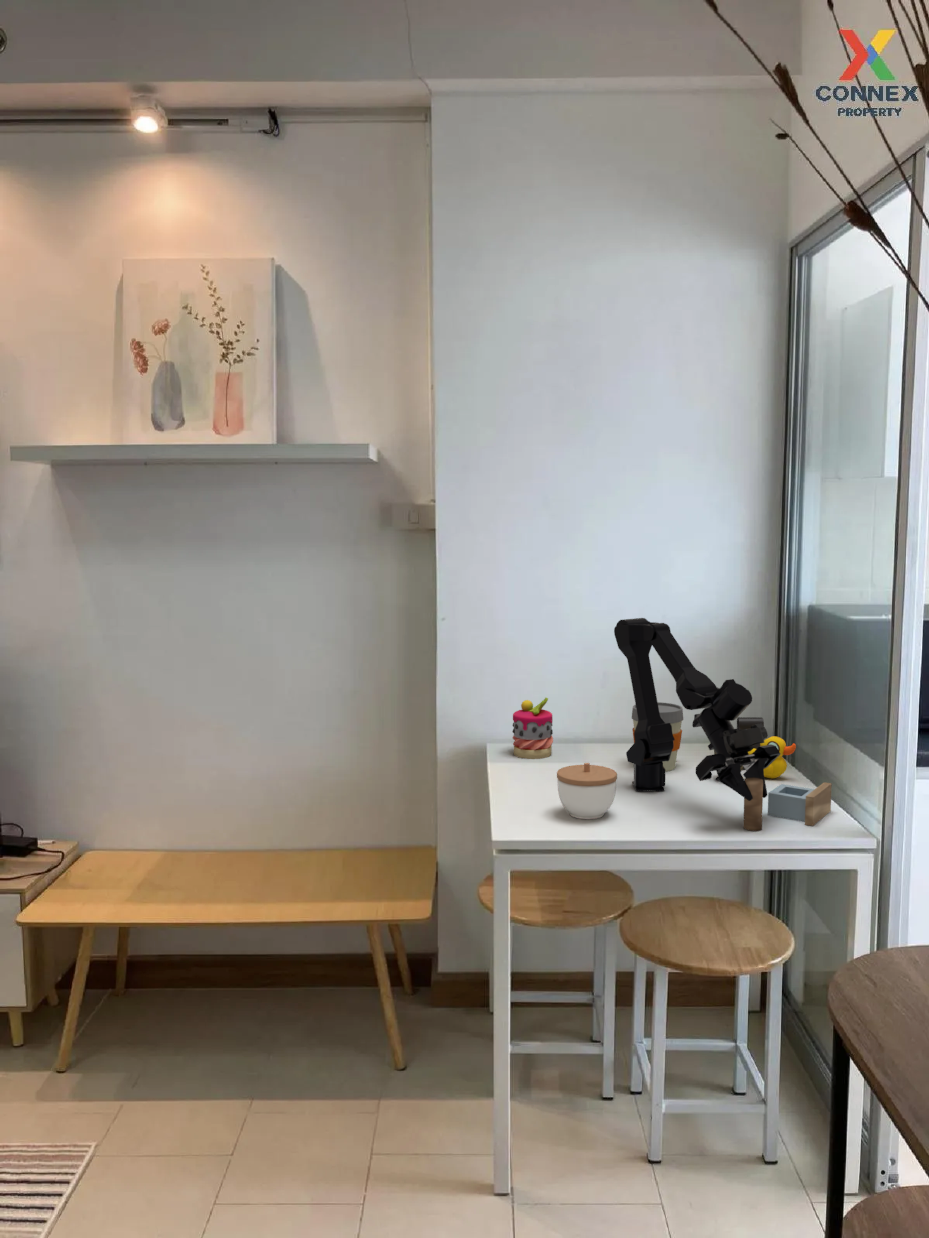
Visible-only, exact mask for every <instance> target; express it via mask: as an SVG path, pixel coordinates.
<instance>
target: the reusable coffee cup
mask: <svg viewBox="0 0 929 1238" xmlns="http://www.w3.org/2000/svg"><path fill="white" fill-rule="evenodd" d="M657 702H658V707H659V713H660V717H661V718H662V719H663V721H664V722H665V723H670V724H671V726H672V734H673V737H674V739H675V740H674V741H673V742H674V748H673V749H672V752H671V756H670V759H669V761H664V762H663V767H664V768H665V772H670V771H674V770H675V769H676V765H677V764H676V762H677V757H678V751H679V750H680V748H681V742H682V735H683V730H682V725H683V724H682V722H683V721H684V709H683V706H681V705H679V704H675V703H672V702H671V703H670V702H659V701H657ZM631 719H632V723H633V727H632V737H633V744H634V743H635V740H634V732H635V729H636V726H637V723H638V715H637V709H636V704H634V705H633V706H632V712H631Z"/></svg>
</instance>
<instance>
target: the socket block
mask: <svg viewBox="0 0 929 1238" xmlns="http://www.w3.org/2000/svg"><path fill="white" fill-rule="evenodd" d="M815 789H816V788H811V787H810V788H809V787H805V786H804V787H803V786H797V785H791V784H784V783H781V784H779V785H778V786H777V787H775V788H774V789H772V790H769V792H767V816H771V817H776V818H780V819H781V818H782V819H788V820H792V821H797V822H798V821H799V822H804V823H805V805H806V796H807V795H808V794H809V793H811V792H812V791H813V790H815Z"/></svg>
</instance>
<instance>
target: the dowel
mask: <svg viewBox="0 0 929 1238" xmlns="http://www.w3.org/2000/svg"><path fill="white" fill-rule="evenodd" d="M744 780H745V782H746V784H747V786H748V788H749V790H750V792H751V794H752V797H753V799H752V800H751V801H748V800H747V799H745V798H744V797H743V830H746V831H748V832H749V831H751V832H759V831H762V830H763V804H764V803H763V801H764V800H763V799H764V798H763V780H762V779H760V778H745V777H744Z"/></svg>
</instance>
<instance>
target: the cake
mask: <svg viewBox="0 0 929 1238" xmlns="http://www.w3.org/2000/svg"><path fill="white" fill-rule="evenodd" d="M548 701H549V698H548V697H544V699H543V700H541V701H540V702H539V703H537V705H535V706H534V704H533V702H532V701H531V700H529V699H525V700H523V701H522V702H521V704H520V708H521V709H519V710H516V711H514V712H513V713H512V721H513V723H512V727H513V729H512V733H513V735H512V740H514V741H513V743H512V745H513V755H514V756H515V757H517V758H519V759H526V760H541V759H546V758H547V759H548V758H549V757H552V755H553V752H552V747H553V746H552V745H553V743H554V737H553V734H554V732H553V729H552V727H553V713H552V711H551V712H550V711H549V710H545V709H543V708H544V706H545V705H546V704H548Z"/></svg>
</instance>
